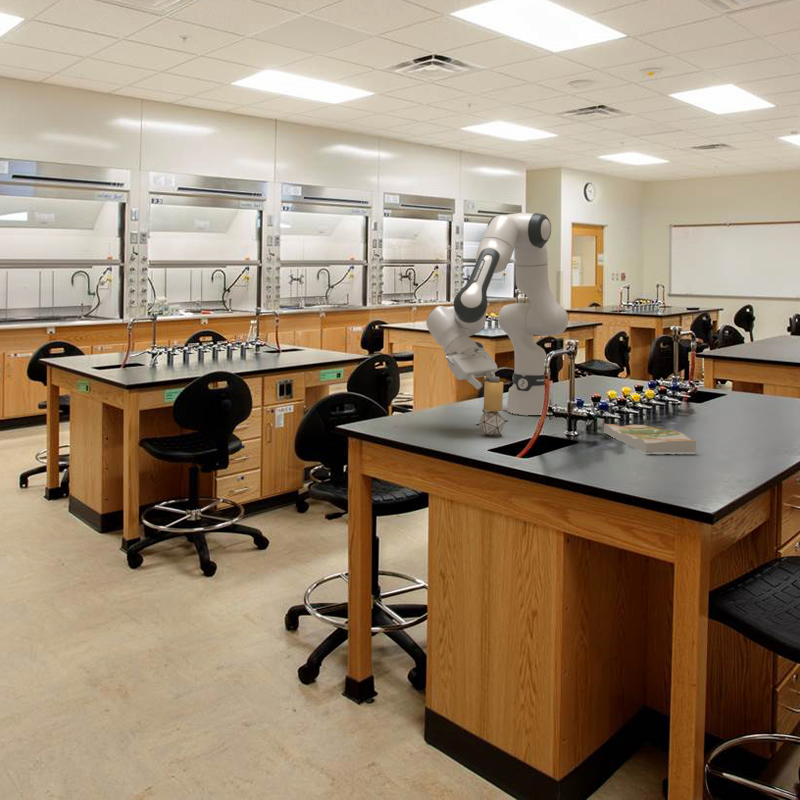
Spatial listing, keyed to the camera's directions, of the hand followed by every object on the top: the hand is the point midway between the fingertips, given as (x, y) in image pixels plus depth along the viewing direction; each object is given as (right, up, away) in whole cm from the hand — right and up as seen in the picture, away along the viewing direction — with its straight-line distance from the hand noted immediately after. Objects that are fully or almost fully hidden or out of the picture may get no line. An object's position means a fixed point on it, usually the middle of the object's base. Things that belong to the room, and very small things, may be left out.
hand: (488, 386), depth 237 cm
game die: (+1, -15, +1) cm, 15 cm away
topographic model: (+46, -18, -5) cm, 50 cm away
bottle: (+1, -7, 0) cm, 7 cm away
